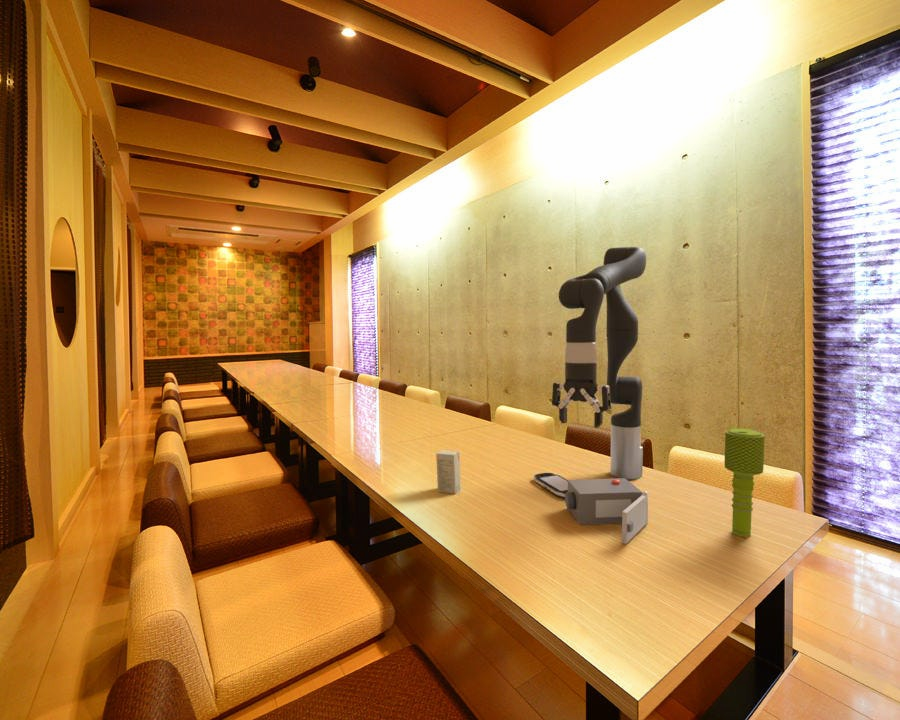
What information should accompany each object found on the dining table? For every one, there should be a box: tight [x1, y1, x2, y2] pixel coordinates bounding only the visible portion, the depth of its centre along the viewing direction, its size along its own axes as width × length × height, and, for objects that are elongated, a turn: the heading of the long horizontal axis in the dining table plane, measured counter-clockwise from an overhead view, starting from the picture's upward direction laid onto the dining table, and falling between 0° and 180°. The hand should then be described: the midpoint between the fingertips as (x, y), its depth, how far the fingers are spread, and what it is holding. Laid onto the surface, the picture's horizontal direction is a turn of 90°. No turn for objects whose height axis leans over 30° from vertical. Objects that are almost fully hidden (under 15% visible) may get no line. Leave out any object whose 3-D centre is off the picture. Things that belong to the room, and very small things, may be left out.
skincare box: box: [435, 449, 462, 495], centre depth 131 cm, size 6×4×12 cm
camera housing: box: [564, 477, 643, 526], centre depth 112 cm, size 10×18×9 cm, turn 92°
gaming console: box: [533, 472, 569, 500], centre depth 132 cm, size 19×9×2 cm, turn 20°
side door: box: [621, 490, 649, 544], centre depth 102 cm, size 2×14×8 cm, turn 137°
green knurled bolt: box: [723, 428, 766, 538], centre depth 101 cm, size 8×8×25 cm
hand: (580, 425), depth 106 cm, fingers open, 8 cm apart
